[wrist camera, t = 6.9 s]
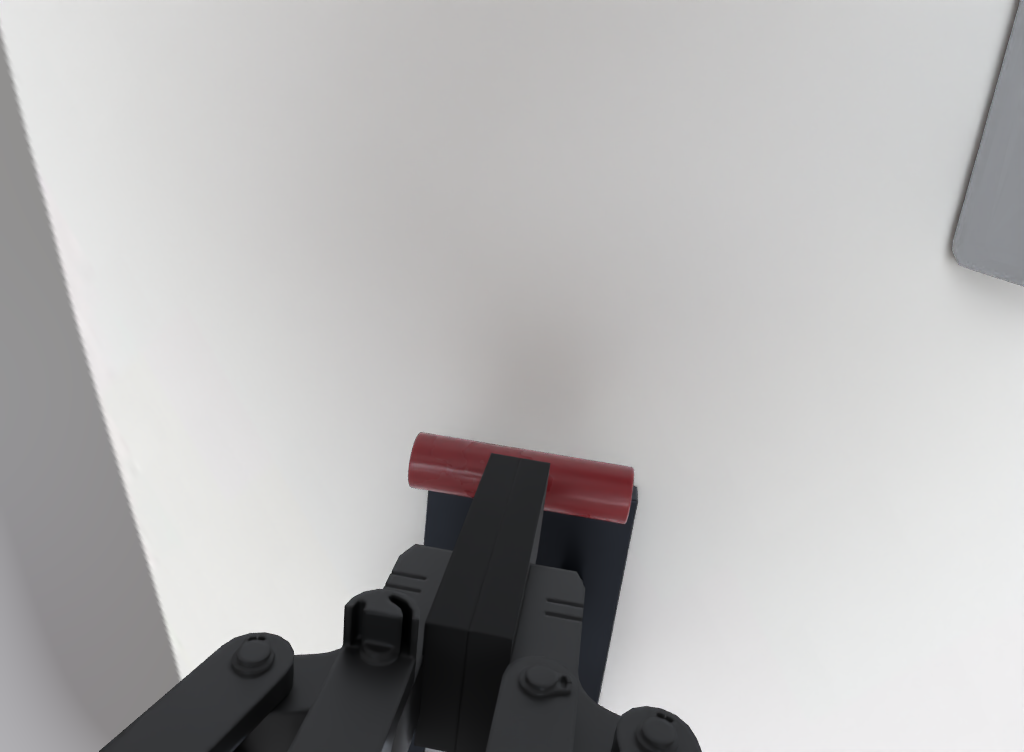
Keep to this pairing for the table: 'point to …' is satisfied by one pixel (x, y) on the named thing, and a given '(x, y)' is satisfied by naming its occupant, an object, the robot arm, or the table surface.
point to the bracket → (564, 546)
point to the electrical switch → (998, 178)
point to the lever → (570, 479)
